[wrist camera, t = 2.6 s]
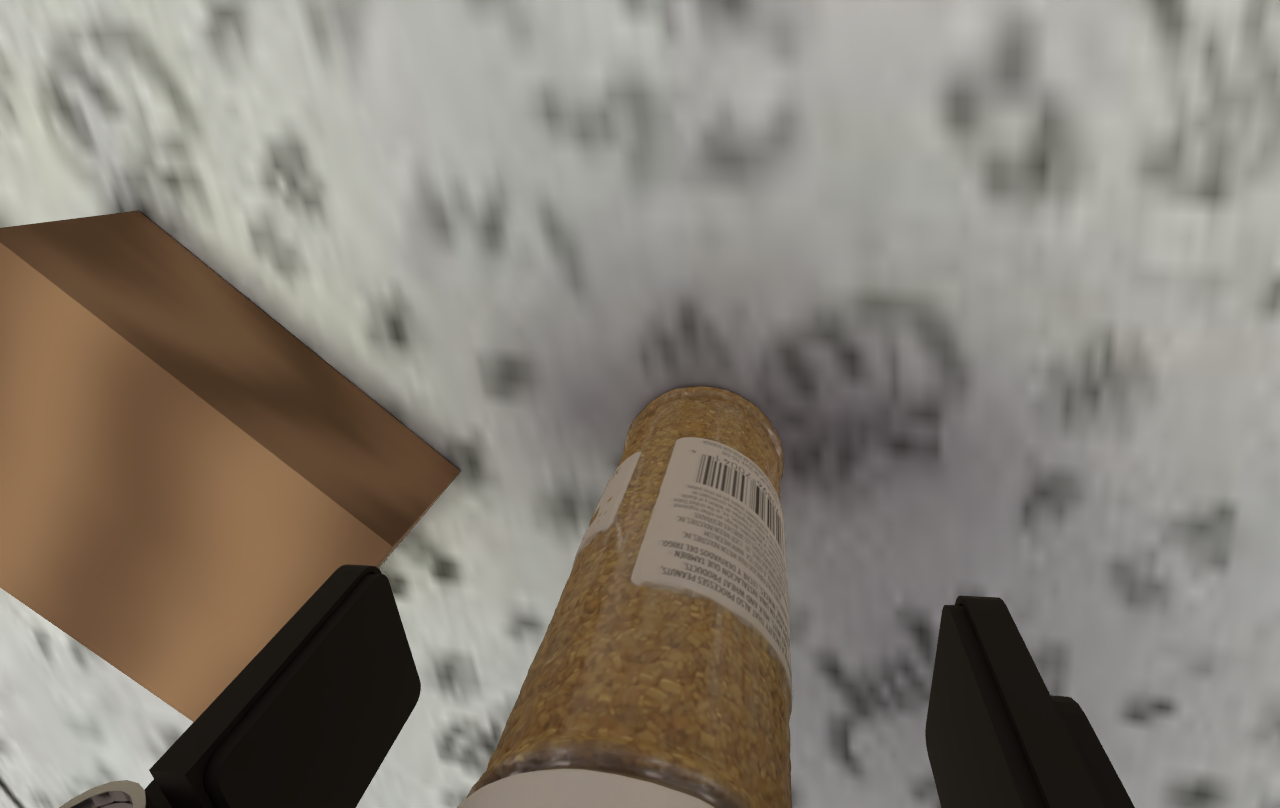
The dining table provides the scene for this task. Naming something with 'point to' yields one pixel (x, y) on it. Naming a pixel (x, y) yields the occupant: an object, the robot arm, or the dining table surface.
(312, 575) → the walnut stand
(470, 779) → the dining table surface
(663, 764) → the sprinkles bottle
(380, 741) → the robot arm
